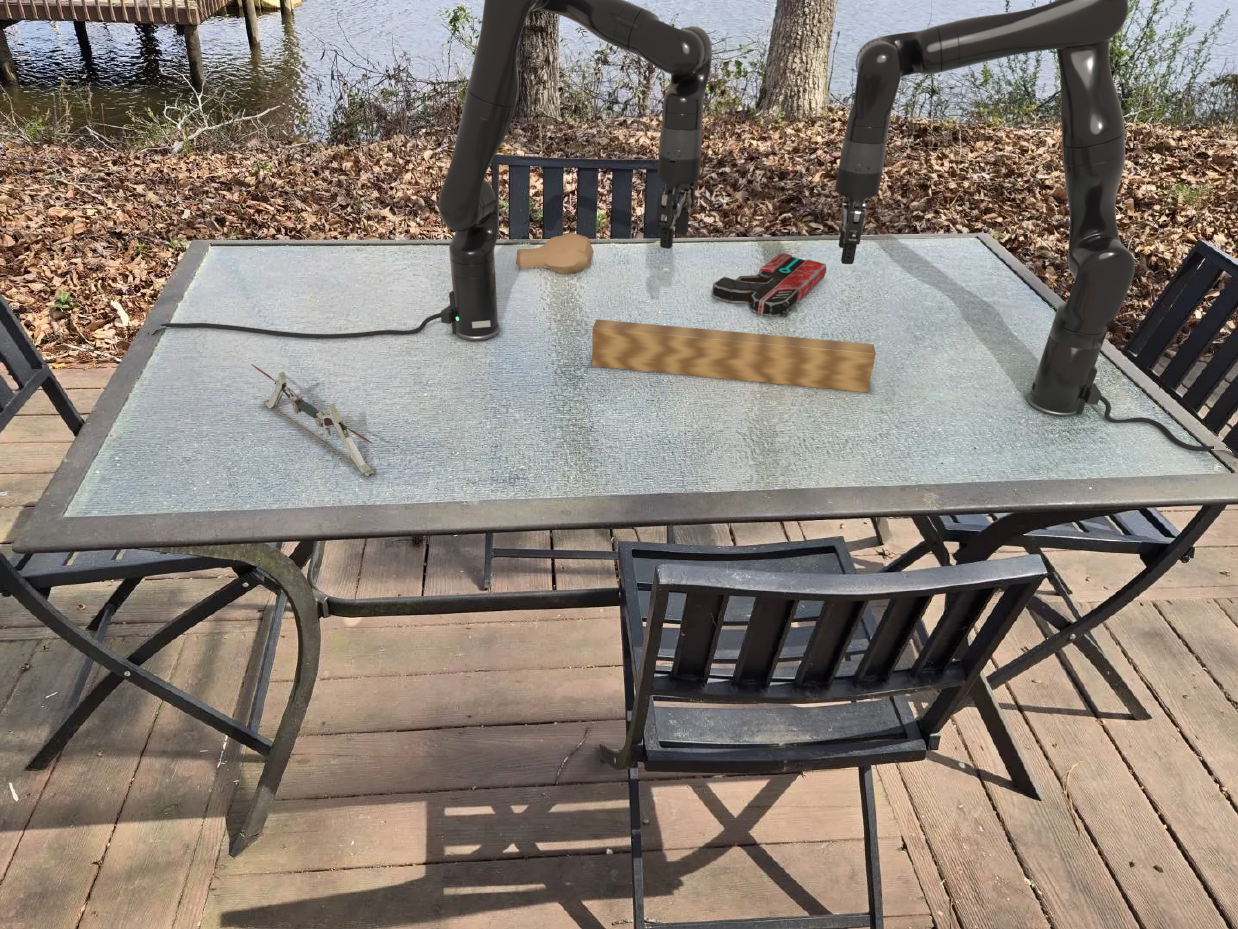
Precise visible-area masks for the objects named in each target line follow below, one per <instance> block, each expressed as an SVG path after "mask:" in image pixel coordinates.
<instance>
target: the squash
mask: <svg viewBox="0 0 1238 929" xmlns="http://www.w3.org/2000/svg"><path fill="white" fill-rule="evenodd" d="M594 253H595V251H594V249H593V246H592V243H591V242H590V239H589V237H587V236H584V235H581V234H579V233H574V232H568V233H565V234H563V235H558V236H552V237H551V238H550V239H548V240H547V241H546V242H545V243H544V244H542V245H541V246H539V247H534V248H518V249H516V258H515V264H516V266H517V267H518V269H520V270H522V269H529V268H530V269H531V268H544V269H549V270H551V271H553V272H555V273H558V274H561V275H572V274H573V275H574V274H578V273H579V272H580V271H583V270H585V269H587V268H589V267H590V266H591V264H592V260H593V257H594Z"/></svg>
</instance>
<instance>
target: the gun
mask: <svg viewBox="0 0 1238 929" xmlns="http://www.w3.org/2000/svg"><path fill="white" fill-rule="evenodd" d="M826 273H827V264H826V263H823V262H820V261H816V260H812V259H802V258H799V257H795V256H793V255H792V254H791V253H784V252H780V253H778V254H777V255H775V256H774V257H773V258H771V259H770V260H768V261H767V262H766V263H765V264H763V265H762V266H761V267H760V269H759V271H758V273H757V274H756V275H753V274H752V275H751V274H750V275H740V276H738V277H737V278H735V279H734V278H731V277H727V276H722V277H720V279H717V281H715V282H713V283H712V291H711V297H713V298H714V299H716V300H719V301H723V302H727V303H730V304H750V305H749V308H750V310H751V312H753V313H755V314H757V315H758V316H760V317H761V316H765V317H770V318H771V317H777V316H780V317H784V318H787V317H788V315H789V311H788V310H790V309H791V308H792V307H793V306H794V305H795V304H798V303H799V302H801V301H802V300H803V299H804V298H805V297H807V296H808V295H809V294H810V293H811V292H812V291H813V290H814V289H815V287H817V285H818V284H820V283H821V282H822V280H823V279H824V278H825V276H826Z"/></svg>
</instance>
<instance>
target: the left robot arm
mask: <svg viewBox="0 0 1238 929" xmlns="http://www.w3.org/2000/svg"><path fill="white" fill-rule="evenodd" d="M535 11H540V12H541V11H542V12H546V13H552V14H554V15H559V16H562V17H564V18H566V19H569V20H571V21H573V22H574V23H577V24H579V25H580V26H582V27H583V28H584V29H586V30H587V31H588V32H590V33H591V34H592V35H593V36H595V37H596V38H599V39H600V40H601V41H604V42H606V43H607V44H610V45H612V46H615V47H616V48H618V49H621V50H623V51H626V52H629V53H631V54H634V55H636V56H639V57H641V58H642V59H644V60H645V61H647V62H648V63H650V64H651V65H653V66H654V67H655V68H657V69H659V70H660V71H663V72H665V73H667V74H670V83H669V86H668V89H667V90H666V91H665V94H664V97H663V102H662V119H661V129H660V134H659V142H658V143H659V144H658V159H657V160H658V162H657V178H658V179H659V180H660V181H662V182H664V183H665V189H664V191H663V193H661V192H660V193H658V195H657V204H656V206H657V207H656V219H655V227H656V228H660V239H659V240H660V241H659V247H660V248H661V249H665V250H670V249H671V248H673V243H674V228H675V233H676V234H678V235H682V236H683V235H685V236H686V235H687V234H688V233H689V222H690V221H689V220H690V215H691V213H692V210H693V209H694V208H695V201H696V184H697V183H696V182H697V181H698V180H699V179H700V171H701V158H702V147H703V131H702V130H703V127H702V126H703V119H704V118H703V117H704V116H703V115H704V98H705V94H706V90H707V86H708V81H709V77H710V71H711V66H712V60H713V59H712V58H713V46H712V41H711V38H710V36H709V34H708V33H707V32H706V31H705V30H704V29H703V28H701V27H700V26H695V25H690V26H686V27H683V28H677V27H675V26H672V25H670V24H668V23H666V22H663V21H661V20H660V18H659V16H658V15H657V14H655V13H654V12H652V11H650V10H648V9H646V8H643V7H641V6H639V5H637V4H634V3H631V2H629V1H627V0H484V2H483V12H482V18H481V27H480V31H479V32H480V33H479V38H478V42H477V45H476V50H475V54H474V59H473V64H472V68H471V72H470V76H469V79H468V83H467V87H466V92H465V97H464V101H463V106H462V110H461V111H462V112H461V117H460V121H459V126H458V129H457V134H456V138H455V144H454V149H453V154H452V156H451V160H450V163H449V167H448V169H447V173H446V175H445V178H444V181H443V183H442V186H441V190H440V192H439V197H438V212H439V215H440V218H441V220H442V222H443V223H444V224H445V225H446V227H447V228H449V229H450V230H452V231H455V233H454V236H453V238H452V240H451V241H450V244H449V246H448V250H449V263H450V264H449V265H450V275H451V276H450V277H451V286H452V290H451V291H450V292H448V297H449V305H448V306H446V307H445V308H443V309H442V310H441V311H440V312H439V313H434V314H432V315H430V316H427V317H426V318H425V319H424V320H423V321H422V322H421V324H420V325H419V326H418V327H416V328H412V329H407V330H402V329H401V330H400V329H399V330H398V329H382V330H372V331H361V332H347V333H345V332H344V333H306V332H305V333H304V332H292V331H281V330H273V329H264V328H255V327H248V326H241V325H233V324H232V325H231V324H223V323H222V324H220V323H208V322H189V323H188V322H187V323H186V322H184V323H183V322H181V323H180V322H168V323H162V324H161V323H160V325H161V326H166V327H170V328H169V329H173V328H175V329H176V328H177V329H178V328H179V329H180V328H181V329H182V328H183V329H189V328H191V329H192V328H206V329H219V330H230V331H239V332H246V333H247V332H248V333H254V334H263V335H269V336H270V335H271V336H279V337H288V338H300V339H302V338H303V339H349V338H362V337H363V338H364V337H365V338H366V337H373V336H383V335H396V336H397V335H399V336H406V335H407V336H408V335H414V334H418V333H420V332H421V331H423V330H424V329H425V327H426V326H427V325H428V323H430V322H432V321H434V320H436V319H440V321H441V322H440V323H442V324H445V325H446V324H447V325H451V332H452V334H453V335H456V336H457V337H458V338H460V339H462V340H464V341H470V342H479V341H481V342H482V341H486V340H487V341H488V340H491V339H493V338H494V337H495V338H496V337H497V335H499V333H500V325H499V312H498V311H499V310H498V296H497V295H498V294H497V293H498V292H497V276H496V275H497V274H496V261H495V259H496V258H495V248H496V245H497V240H498V207H497V206H498V205H497V198H496V194H495V192H494V189H493V187H492V185H491V184H490V183H489V182H488V181H487V180H486V179H485V178H486V174H487V172H488V170H489V167H490V165H491V163H492V161H493V159H494V157H495V156H496V154H497V153H498V151H499V149H500V147H501V146H502V144H503V142H504V140H505V138H506V136H507V134H508V132H509V130H510V127H511V124H512V121H513V117H514V113H515V110H516V105H517V102H518V97H519V88H520V83H519V82H520V81H519V80H520V79H519V68H518V50H519V44H520V39H521V36H522V33H523V30H524V25H525V22H526V20H527V18H528V14H529V13H532V12H535ZM158 331H159V330H157V331H156V332H158Z"/></svg>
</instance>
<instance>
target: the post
mask: <svg viewBox="0 0 1238 929" xmlns="http://www.w3.org/2000/svg"><path fill="white" fill-rule="evenodd" d="M591 333H592V335H591V336H592V339H591V340H592V342H591V343H592V344H591V346H592V348H591V349H592V350H591V353H592V354H591V356H592V357H591V366H592V367H599V368H609V369H618V370H629V371H631V370H632V371H639V372H651V373H661V374H670V375H682V376H693V377H702V378H703V377H704V378H712V379H723V380H724V379H725V380H735V381H743V382H744V381H745V382H755V383H767V384H774V385H787V386H796V387H808V388H818V389H828V390H839V391H849V392H859V393H860V392H861V393H868V392H869V389H870V388H869V387H870V383H871V378H872V375H873V374H872V373H873V368H874V363H875V359H876V356H877V355H876V348H875V344H874V343H865V342H856V341H855V342H854V341H843V340H833V339H832V340H831V339H822V338H821V339H819V338H811V337H810V338H808V337H800V336H799V337H798V336H787V335H778V334H777V335H775V334H763V333H755V332H753V333H752V332H742V331H733V330H732V331H730V330H720V329H709V328H698V327H687V326H686V327H685V326H675V325H663V324H654V323H653V324H652V323H651V324H650V323H644V322H643V323H642V322H630V321H618V320H608V319H598V318H597V319H595V322H594V324H593V326H592V332H591Z"/></svg>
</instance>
